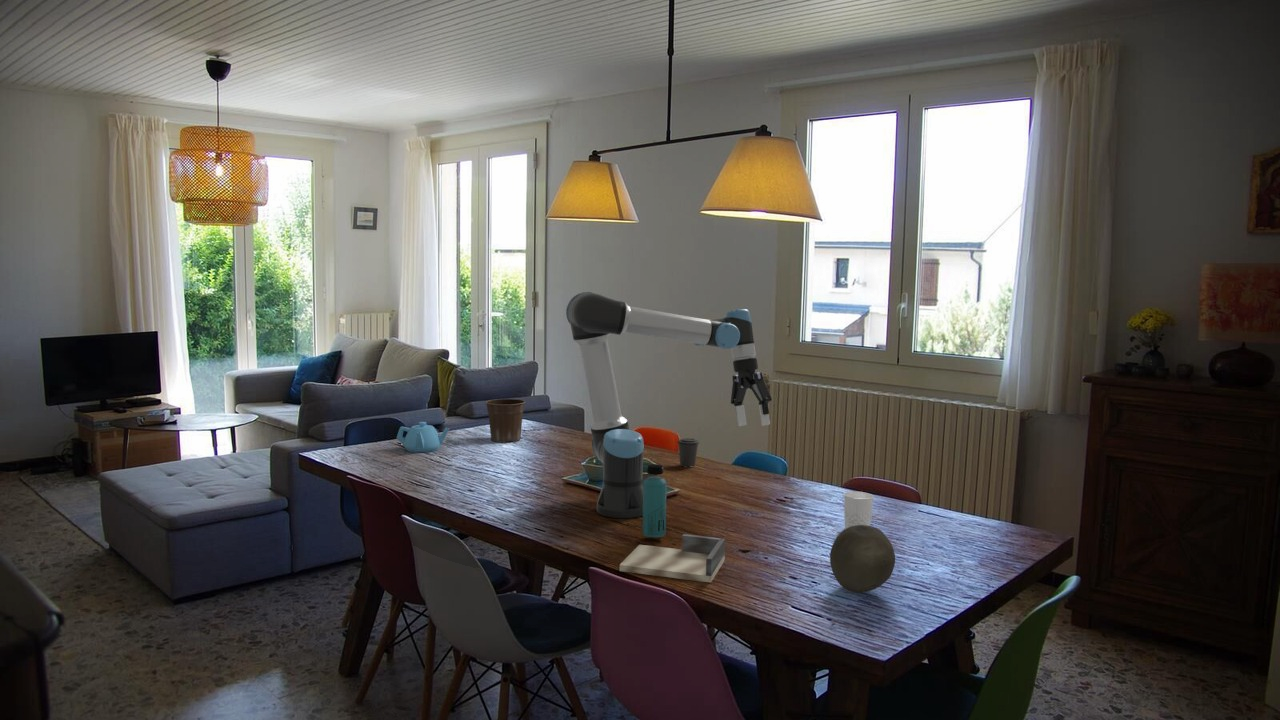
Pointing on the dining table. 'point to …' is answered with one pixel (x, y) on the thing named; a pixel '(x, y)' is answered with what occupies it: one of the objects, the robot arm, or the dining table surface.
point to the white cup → (857, 508)
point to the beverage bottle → (654, 503)
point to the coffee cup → (687, 451)
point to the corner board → (679, 559)
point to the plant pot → (505, 419)
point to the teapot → (421, 438)
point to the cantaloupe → (862, 558)
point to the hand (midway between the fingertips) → (754, 425)
